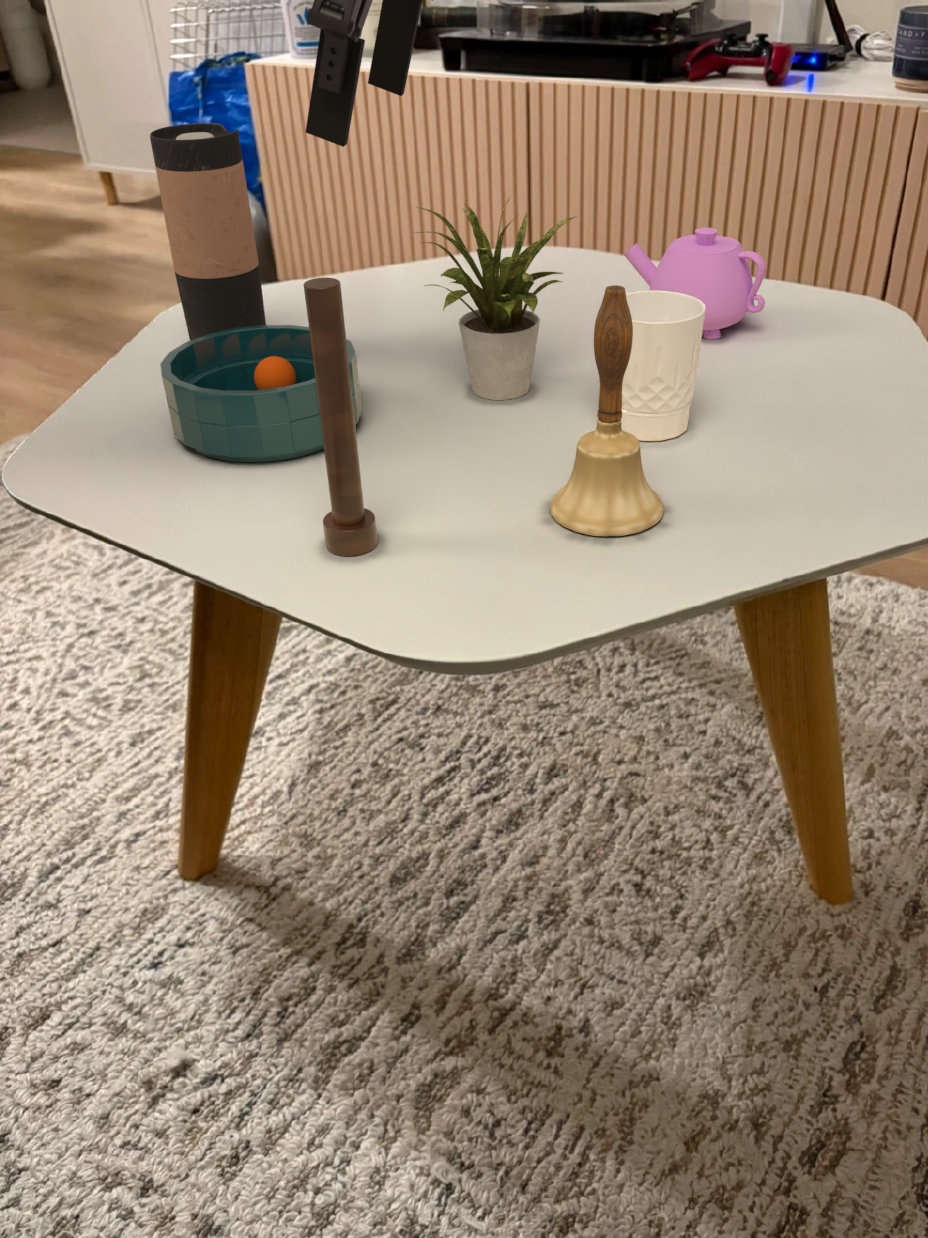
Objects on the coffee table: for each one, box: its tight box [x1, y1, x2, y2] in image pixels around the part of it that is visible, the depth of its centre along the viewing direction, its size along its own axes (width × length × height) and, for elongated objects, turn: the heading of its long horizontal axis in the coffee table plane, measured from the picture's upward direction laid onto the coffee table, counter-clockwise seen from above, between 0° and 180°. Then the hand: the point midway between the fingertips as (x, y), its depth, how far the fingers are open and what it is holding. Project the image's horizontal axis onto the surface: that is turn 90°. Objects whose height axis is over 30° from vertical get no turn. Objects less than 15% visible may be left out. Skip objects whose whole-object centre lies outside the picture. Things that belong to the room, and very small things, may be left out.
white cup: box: [621, 289, 706, 442], centre depth 89 cm, size 8×8×10 cm
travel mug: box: [149, 122, 267, 341], centre depth 101 cm, size 8×8×20 cm
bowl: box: [160, 324, 363, 463], centre depth 92 cm, size 16×16×6 cm
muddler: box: [303, 277, 378, 557], centre depth 72 cm, size 4×4×18 cm
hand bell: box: [549, 284, 665, 537], centre depth 76 cm, size 8×8×16 cm
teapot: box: [623, 227, 767, 340], centre depth 109 cm, size 10×15×9 cm
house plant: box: [413, 194, 578, 401], centre depth 94 cm, size 14×14×16 cm
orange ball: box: [254, 356, 296, 390], centre depth 95 cm, size 4×4×4 cm
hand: (357, 112), depth 79 cm, fingers open, 13 cm apart
